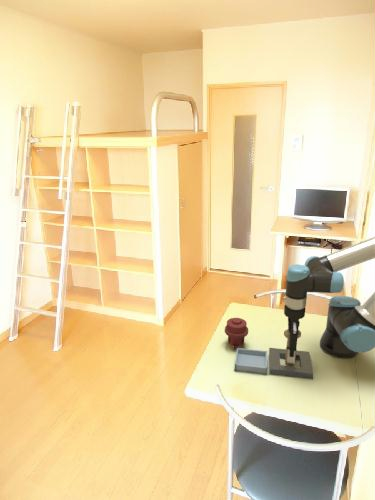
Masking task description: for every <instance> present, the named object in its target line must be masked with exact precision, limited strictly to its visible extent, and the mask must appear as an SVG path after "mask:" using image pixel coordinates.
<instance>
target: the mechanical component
mask: <svg viewBox="0 0 375 500" xmlns="http://www.w3.org/2000/svg"><path fill="white" fill-rule="evenodd" d="M224 333H225V335H226V336H227V343H228V345H230V346H231V347H233V350H237V348H240V347H242V346H244V344H245V337H247V335H249V328H248V326H247V321H246V320H245V319H243V318H240V317H231V318H229V319H227V321H226V325H225V327H224Z"/></svg>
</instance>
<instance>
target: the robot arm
mask: <svg viewBox="0 0 375 500" xmlns="http://www.w3.org/2000/svg"><path fill="white" fill-rule="evenodd" d="M373 259H375V236H373V237H370V238H368V239H365V240H362V241H360V242H358V243H355V244H352V245H349V246H347V247H345V248H342V249H340V250H339V249H338V250H337V251H334V252H331V253H329V254H326V255H323V256H320V257H319V256H314V255H313V256H310V257H308V258H307V259H306V260H305V263H304V264H298V263H297V264H291V265H290V266H289V267H288V269H287V271H286V272H287V273H286V278H285V279H286V282H285V283H286V285H285V296H283V299H284V306H283V307H284V309H283V314H284V316H285V317H287V329H289V332H290V339H289V347H287V349H288V356H287V363H294V364H295V362H296V360H295V351H296V350H297V345H298V339H299V338H298V332H299V331H300V330H299V327H300V320H302V319H303V318H304V317H305V316H306V307H307V299H308V297H307V296H308V293H324V294H334V293H335V294H337V293H341V292H342V291H343V290H344V285H345V280H344V275H343V273H342V272H340V271H342V270H346V269H348V268H352V267H354V266H356V265H359V264H362V263H365V262H367V261H371V260H373ZM327 309H328V310H327V317H326V324H325V325H326V328H325V330H324V332H323V333H322V335H321V336H320V339H319V346H320V349H321V350H322V351H324V353H326V354H328V355H329V356H332V357H335V358H339V359H340V358H341V359H350V358H354V357H356V356H357V355H358V354H359V353H366V352H369V351H371V350H373V349H374V348H375V291H374V292H373V293H372V294H371V296H370V297H369V298H367V300H366V301H365V302H363V304H361V301H360V300H359V299H357V298H355V297H351V296H346V295H336V296H333V297H331V298H330V299H329V302H328V308H327ZM297 338H298V339H297ZM297 351H298V350H297Z"/></svg>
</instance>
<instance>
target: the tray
mask: <svg viewBox="0 0 375 500" xmlns="http://www.w3.org/2000/svg"><path fill="white" fill-rule="evenodd" d="M234 372H238V373H239V372H240V373H248V374H256V375H263V376H267V375H268V350H262V349H260V350H259V349H250V348H241V347H238V348H237V349H236V353H235V360H234Z"/></svg>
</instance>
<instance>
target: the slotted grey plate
mask: <svg viewBox="0 0 375 500" xmlns="http://www.w3.org/2000/svg"><path fill="white" fill-rule="evenodd" d="M285 353H286V348H276V347H269V348H268V374H269V375H271V376H280V377H289V378H296V379H297V378H300V379H306V380H314V374H315V373H314V368H313V363H312V359H311V353H310V351H304V350H296V358H295V361H298V362H299V366H295V365H294V366H287V365H286V364H285V365H282V364H281V359H282V360H285Z"/></svg>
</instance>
